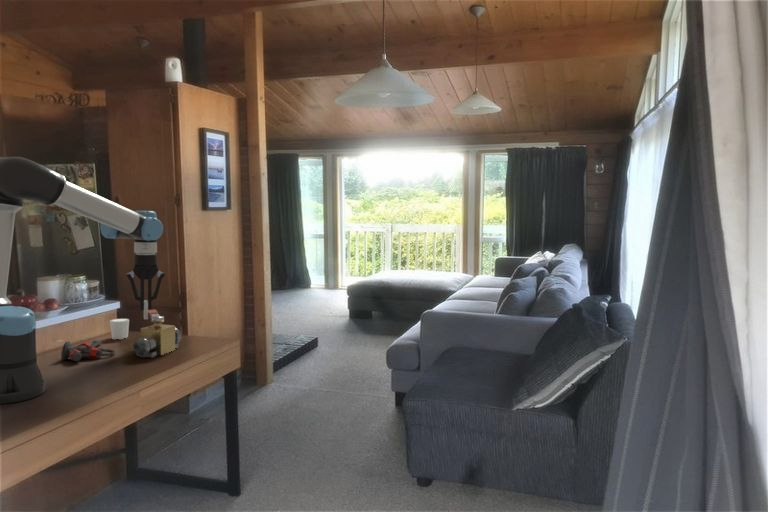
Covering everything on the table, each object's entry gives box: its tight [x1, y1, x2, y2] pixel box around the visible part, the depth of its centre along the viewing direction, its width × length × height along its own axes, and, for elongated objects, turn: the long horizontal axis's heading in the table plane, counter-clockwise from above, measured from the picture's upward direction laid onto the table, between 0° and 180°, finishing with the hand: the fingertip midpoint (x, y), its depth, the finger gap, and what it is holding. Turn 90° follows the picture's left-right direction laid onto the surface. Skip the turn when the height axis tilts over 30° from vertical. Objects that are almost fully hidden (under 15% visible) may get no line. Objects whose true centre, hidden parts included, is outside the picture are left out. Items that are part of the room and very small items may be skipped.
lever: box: [148, 309, 165, 324], centre depth 199 cm, size 16×4×2 cm, turn 32°
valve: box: [60, 339, 116, 362], centre depth 192 cm, size 6×26×15 cm
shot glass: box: [109, 318, 130, 340], centre depth 214 cm, size 7×7×7 cm
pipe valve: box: [132, 322, 182, 359], centre depth 195 cm, size 18×8×11 cm, turn 165°
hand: (145, 318), depth 201 cm, fingers closed
